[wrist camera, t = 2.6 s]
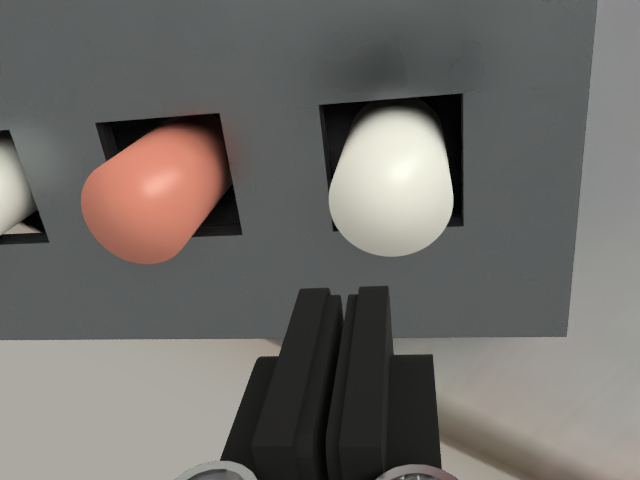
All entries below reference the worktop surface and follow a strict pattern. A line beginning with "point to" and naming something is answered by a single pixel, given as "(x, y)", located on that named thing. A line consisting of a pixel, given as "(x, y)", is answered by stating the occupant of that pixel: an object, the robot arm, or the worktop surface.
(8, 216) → the cream plug
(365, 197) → the cream plug
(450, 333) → the panel
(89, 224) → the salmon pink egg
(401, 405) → the robot arm
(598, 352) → the worktop surface
